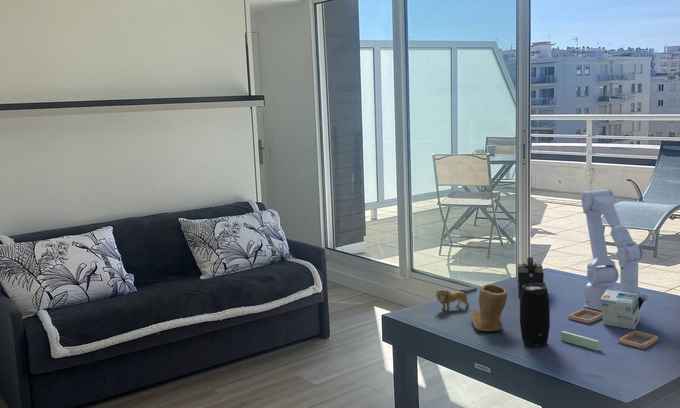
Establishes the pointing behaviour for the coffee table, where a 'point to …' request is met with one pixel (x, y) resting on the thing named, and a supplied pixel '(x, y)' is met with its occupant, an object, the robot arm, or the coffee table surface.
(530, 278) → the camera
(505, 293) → the tan boot
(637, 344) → the square frames and block
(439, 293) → the lion figurine
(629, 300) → the light bulb box
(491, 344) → the coffee table surface
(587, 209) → the robot arm
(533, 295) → the portable speaker
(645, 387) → the coffee table surface
